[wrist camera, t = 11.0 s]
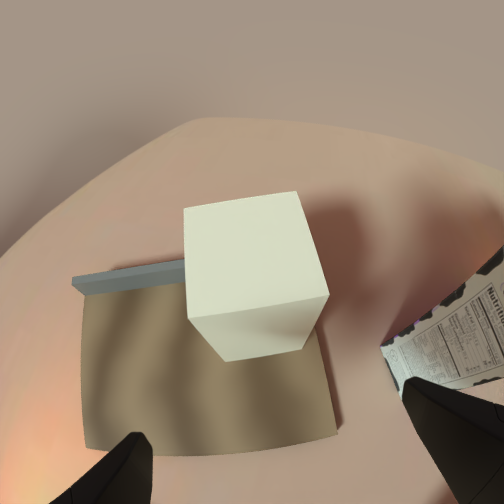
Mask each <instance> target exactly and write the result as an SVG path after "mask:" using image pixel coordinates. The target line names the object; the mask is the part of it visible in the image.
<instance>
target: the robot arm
mask: <svg viewBox="0 0 504 504" xmlns="http://www.w3.org/2000/svg"><path fill="white" fill-rule="evenodd" d="M402 402H403V404H404V406H405V408H406V410H407V413H408V415H409V417H410V419H411V421H412V423H413V426H414V428H415V430H416V432H417V434H418V436H419V437H420V439H421V441H422V442H423V444H424V445H425V447H426V449H427V450H428V452H429V454H430V455H431V457H432V459H433V460H434V462H435V464H436V465H437V467H438V469H439V470H440V472H441V474H442V475H443V477H444V479H445V480H446V482H447V484H448V486H449V487H450V489H451V491H452V493H453V494H454V496H455V498H456V500H457V501H458V503H459V504H504V406H503V405H499V404H496V403H495V404H494V403H493V402H489V401H486V400H483V399H480V398H477V397H474V396H471V395H468V394H465V393H462V392H459V391H456V390H453V389H450V388H447V387H445V386H442V385H439V384H436V383H433V382H431V381H428V380H425V379H423V378H420V377H417V376H413V377H411V378H408V379H406V380H405V381H404V385H403V391H402ZM152 474H153V448H152V446H151V444H150V443H149V441H148V439H147V438H146V436H145V435H144V433H142V432H130V433H129V434H128V435H127V436H126V437H125V438H124V439H123V440H122V441H120V442H119V443H118V444H117V445H116V446H115V447H114V448H113V449H112V450H111V451H110V452H109V453H108V454H106V455H105V456H104V457H103V458H102V459H101V460H100V461H99V462H98V463H97V464H95V465H94V466H93V467H92V468H91V469H90V470H89V471H88V472H87V473H85V474H84V475H83V476H82V477H81V478H80V479H79V480H77V481H76V482H75V483H74V484H73V485H72V486H71V488H70V487H69V488H68V489H67V490H66V491H65V492H63V493H62V494H61V495H60V496H58V497H57V498H56V499H55V500H53V501H52V502H50V503H49V504H150V500H151V493H152Z"/></svg>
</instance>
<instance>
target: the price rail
mask: <svg viewBox="0 0 504 504" xmlns="http://www.w3.org/2000/svg"><path fill="white" fill-rule="evenodd" d="M181 282H186V280H185V259H181V260H174V261H168V262H162V263H156V264H150V265H144V266H137V267H131V268H125V269H119V270H113V271H107V272H101V273H95V274H89V275H82V276H76V277H73V278H72V286H74V287H75V288H76V289H77V290H78V291H80V292H81V293H82V294H83V295H85V296H87V295H94V294H102V293H110V292H117V291H125V290H132V289H139V288H146V287H153V286H160V285H167V284H174V283H181Z"/></svg>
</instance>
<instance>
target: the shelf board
mask: <svg viewBox="0 0 504 504" xmlns="http://www.w3.org/2000/svg"><path fill="white" fill-rule="evenodd" d="M81 398H82V415H83V426H84V436H85V444H86V448H89V449H95V450H102V451H109V452H110V451H111V450H112V449H113V448H114V447H115V446H116V445H117V444H118V443H119V442H120V441H122V440H123V439H124V438H125V437H126V436H127V435H128V434H129V433H130V432H142V433H144V435H145V436H146V438H147V439H148V441H149V443H150V444H151V446H152V448H153V455H154V456H207V455H224V454H235V453H245V452H253V451H261V450H268V449H274V448H280V447H286V446H291V445H296V444H301V443H305V442H310V441H314V440H318V439H322V438H326V437H330V436H334V435H338V432H337V427H336V422H335V417H334V411H333V407H332V402H331V397H330V392H329V387H328V382H327V378H326V373H325V369H324V364H323V360H322V355H321V351H320V347H319V342H318V338H317V334H316V329H315V325H314V327H313V329H312V331H311V333H310V334H309V336H308V338H307V340H306V342H305V344H304V346H303V347H302V349H300V350H295V351H290V352H285V353H279V354H274V355H268V356H262V357H256V358H250V359H243V360H236V361H229V362H225V361H224V360H223V359H222V358H221V357H220V356H219V354H218V353H217V352H216V351H215V350H214V349H213V348H212V346H211V345H210V344H209V343H208V342H207V341H206V339H205V338H204V337H203V336H202V335H201V334H200V332H199V331H198V330H197V329H196V328H195V326H194V325H193V324H192V323H191V322H190V320H189V319H188V315H187V299H186V282H181V283H174V284H167V285H160V286H153V287H146V288H139V289H132V290H125V291H117V292H110V293H102V294H94V295H87V296H85V300H84V310H83V322H82V339H81Z"/></svg>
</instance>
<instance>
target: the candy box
mask: <svg viewBox="0 0 504 504" xmlns="http://www.w3.org/2000/svg"><path fill="white" fill-rule="evenodd" d="M380 348H381V351H382V353H383V356H384V358H385V360H386V363H387V366H388V368H389V370H390V372H391V375H392V377H393V380H394V383H395V386H396V388H397V390H398V393H399V395H400V398H401V399H402V391H403V385H404V381H405V380H406V379H408V378H411V377H413V376H417V377H420V378H423V379H425V380H428V381H431V382H433V383H436V384H439V385H442V386H445V387H447V388H450V389H453V390H460V389H465V388H469V387H473V386H476V385H480V384H484V383H487V382H491V381H495V380H498V379H501V378H504V245H503V246H502V247H501V248H500V249H499V251H498V252H497V253H496V254H495V255H494V256H493V257H492V258H491V259H490V260H488V261H487V262H486V263H485V264H484V265H483V266H482V267H481V268H480V269H479V270H478V271H477V272H476V273H475V274H474V275H473V276H471V277H470V278H469V279H468V280H467V281H466V282H464V283H463V284H462V285H461V286H460V287H459V288H458V289H457V290H455V291H454V292H453V293H452V294H450V295H449V296H448V297H447V298H445V299H444V300H443V301H442V302H441V303H439V304H438V305H437V306H435V307H434V308H433V309H432V310H430V311H429V312H428V313H426V314H425V315H424V316H422V317H421V318H419V319H418V320H417V321H416V322H414V323H413V324H412V325H410V326H409V327H407V328H406V329H404V330H403V331H402V332H400V333H399V334H397V335H396V336H394V337H393V338H391V339H390V340H388V341H387V342H385V343H384V344H382V345H381V346H380Z"/></svg>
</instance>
